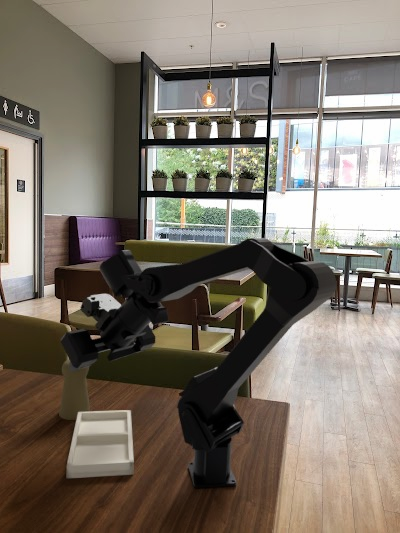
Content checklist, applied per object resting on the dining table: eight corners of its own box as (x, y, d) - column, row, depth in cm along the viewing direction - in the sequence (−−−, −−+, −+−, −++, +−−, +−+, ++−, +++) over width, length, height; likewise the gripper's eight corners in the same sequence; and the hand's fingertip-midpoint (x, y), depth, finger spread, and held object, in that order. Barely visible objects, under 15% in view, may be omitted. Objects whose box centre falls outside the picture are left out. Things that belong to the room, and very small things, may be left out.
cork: (85, 420, 87) (86, 365, 86) (54, 419, 87) (55, 364, 86) (93, 407, 93) (94, 356, 92) (64, 406, 93) (65, 355, 92)
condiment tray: (133, 474, 69) (133, 462, 69) (66, 478, 67) (66, 465, 67) (130, 419, 88) (130, 410, 88) (78, 421, 86) (78, 411, 86)
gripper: (147, 278, 89) (108, 322, 96) (68, 286, 74) (29, 338, 81) (175, 323, 85) (132, 366, 92) (98, 342, 70) (55, 391, 78)
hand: (90, 364), depth 86 cm, fingers open, 9 cm apart
